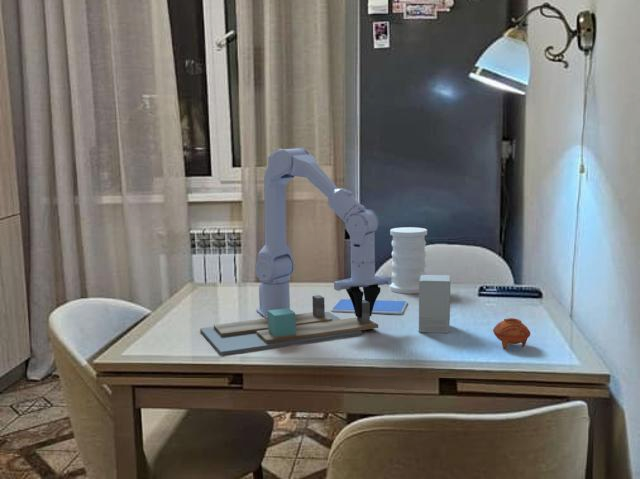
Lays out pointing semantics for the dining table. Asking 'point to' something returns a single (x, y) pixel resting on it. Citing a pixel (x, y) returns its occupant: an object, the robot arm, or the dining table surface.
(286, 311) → the teal block
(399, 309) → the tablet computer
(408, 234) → the decorative container
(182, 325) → the dining table surface
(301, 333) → the strip
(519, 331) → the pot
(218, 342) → the lane board
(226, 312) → the dining table surface
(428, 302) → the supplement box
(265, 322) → the strip
